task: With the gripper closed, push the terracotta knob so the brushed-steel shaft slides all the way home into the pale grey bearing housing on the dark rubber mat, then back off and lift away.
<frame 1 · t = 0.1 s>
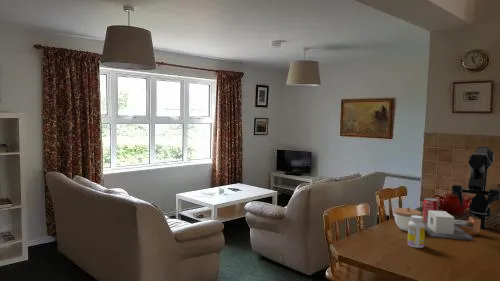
hand: (473, 209, 164), 15 cm above the table, tool tilted 30°, fingers open, 9 cm apart
soda can: (429, 223, 194), on the table
bearing housing: (439, 231, 179), on the table
lidded bowl: (407, 229, 182), on the table
supplement bottle: (415, 246, 158), on the table
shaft: (462, 223, 177), point 5 cm above the table, slide at 9.0 cm
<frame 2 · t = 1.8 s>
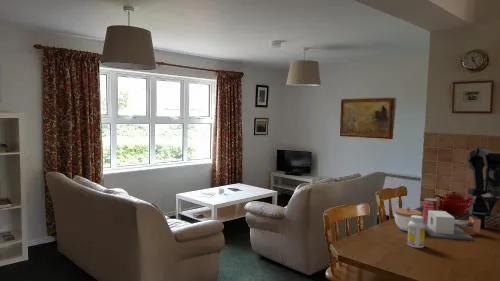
hand: (490, 210, 175), 12 cm above the table, tool pointing down, fingers closed
nothing on the table moved.
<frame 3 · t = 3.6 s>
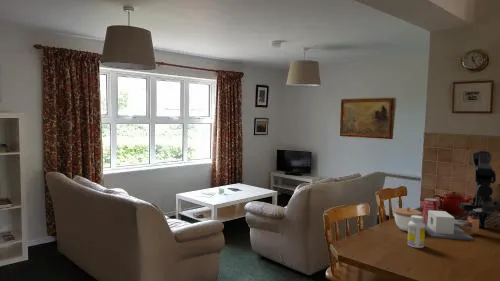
hand: (481, 225, 176), 5 cm above the table, tool pointing down, fingers closed
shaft: (461, 223, 177), point 5 cm above the table, slide at 8.4 cm, touching gripper
everything else where it was.
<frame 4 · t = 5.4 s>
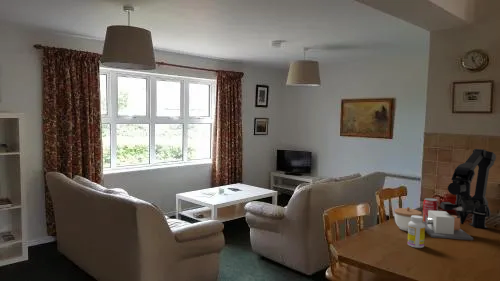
hand: (462, 224, 177), 5 cm above the table, tool pointing down, fingers closed
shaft: (442, 221, 179), point 5 cm above the table, slide at -0.1 cm, touching gripper
everything else where it was.
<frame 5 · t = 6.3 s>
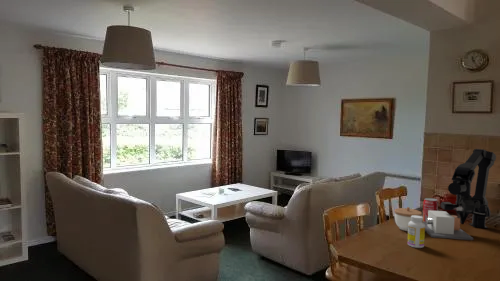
hand: (462, 224, 177), 5 cm above the table, tool pointing down, fingers closed
nothing on the table moved.
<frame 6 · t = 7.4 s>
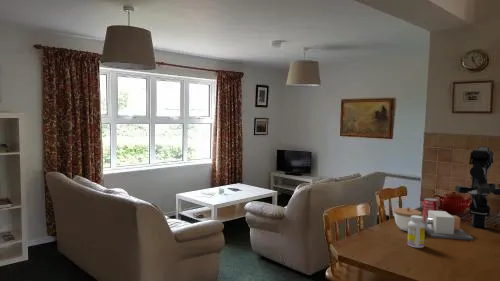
hand: (476, 207, 177), 13 cm above the table, tool pointing down, fingers closed
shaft: (442, 221, 179), point 5 cm above the table, slide at 0.0 cm
everything else where it was.
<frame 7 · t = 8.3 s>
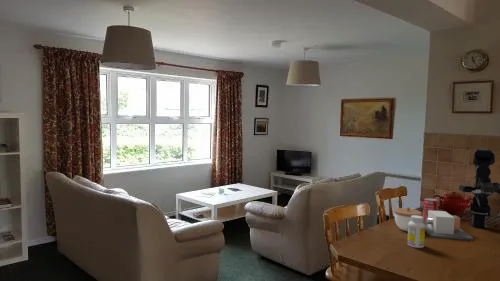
hand: (480, 206, 178), 13 cm above the table, tool pointing down, fingers closed
nothing on the table moved.
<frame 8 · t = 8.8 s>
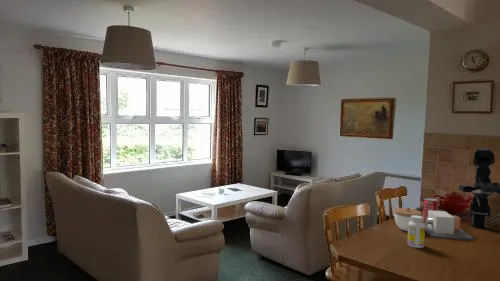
hand: (480, 206, 178), 13 cm above the table, tool pointing down, fingers closed
nothing on the table moved.
at the end: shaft slide at 0.0 cm; the gripper is holding nothing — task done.
